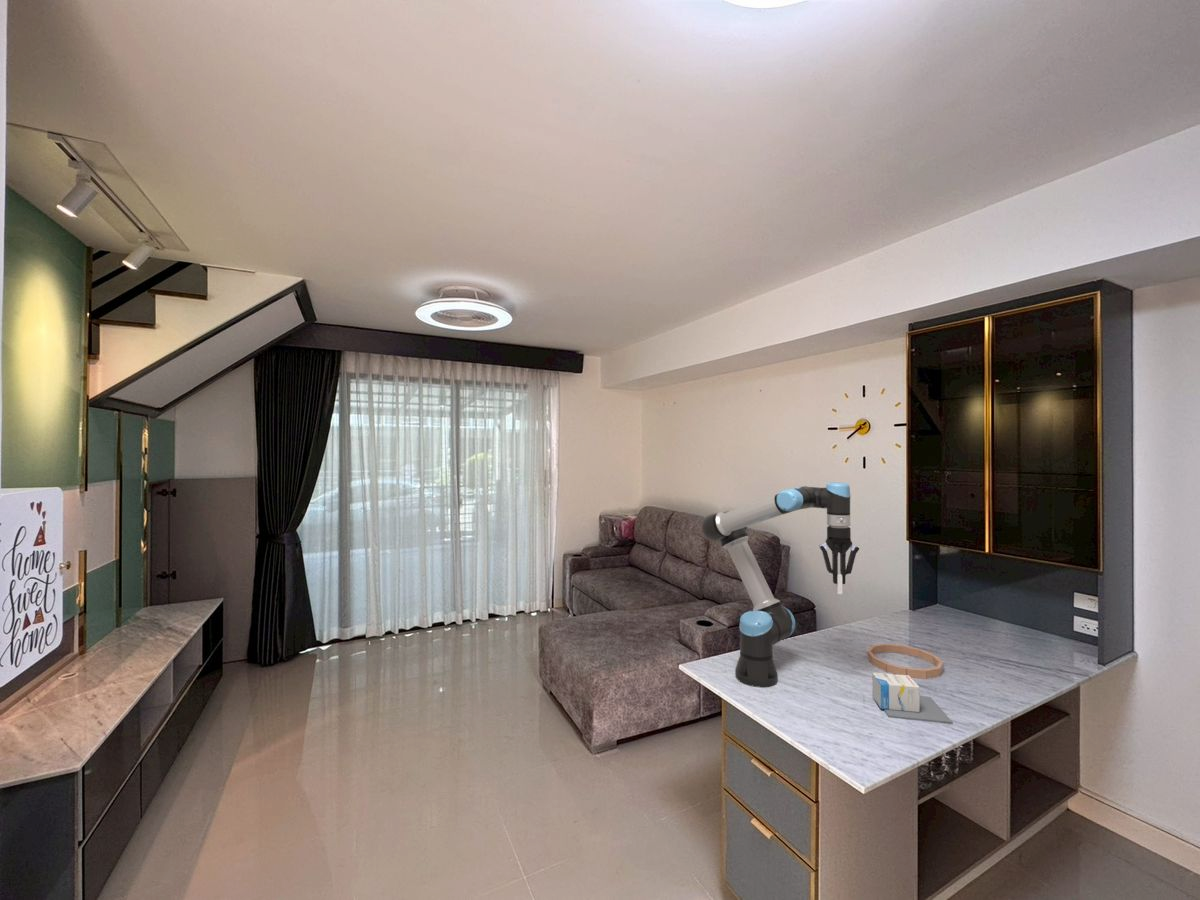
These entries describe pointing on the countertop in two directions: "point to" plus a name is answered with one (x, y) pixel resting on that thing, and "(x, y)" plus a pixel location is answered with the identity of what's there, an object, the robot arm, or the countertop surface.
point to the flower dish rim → (902, 670)
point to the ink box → (896, 692)
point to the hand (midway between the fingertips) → (839, 592)
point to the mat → (922, 712)
